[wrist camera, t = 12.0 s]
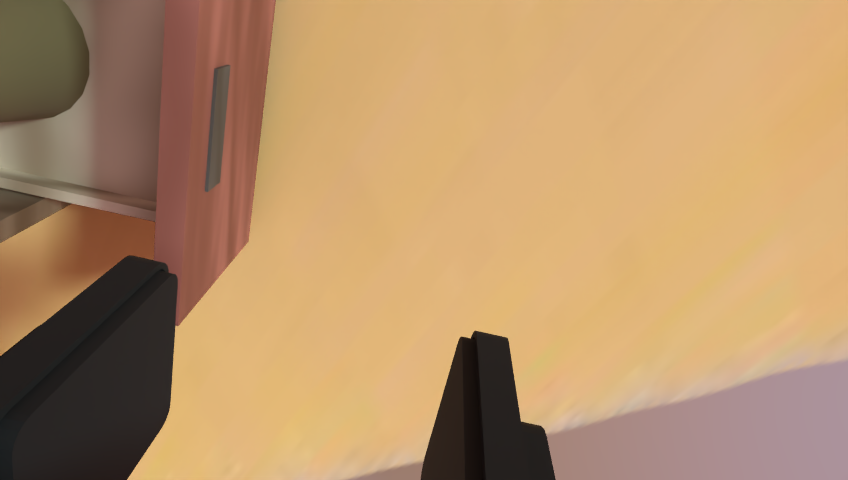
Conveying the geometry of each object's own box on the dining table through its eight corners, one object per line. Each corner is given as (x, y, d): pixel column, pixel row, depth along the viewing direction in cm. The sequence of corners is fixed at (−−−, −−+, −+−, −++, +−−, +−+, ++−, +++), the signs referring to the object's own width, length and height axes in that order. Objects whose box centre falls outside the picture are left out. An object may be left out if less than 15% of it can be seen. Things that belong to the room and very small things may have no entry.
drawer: (286, -71, 24) (210, -100, 16) (250, 241, 29) (181, 326, 22) (-116, -169, 23) (-384, -245, 16) (-76, 169, 28) (-261, 231, 21)
